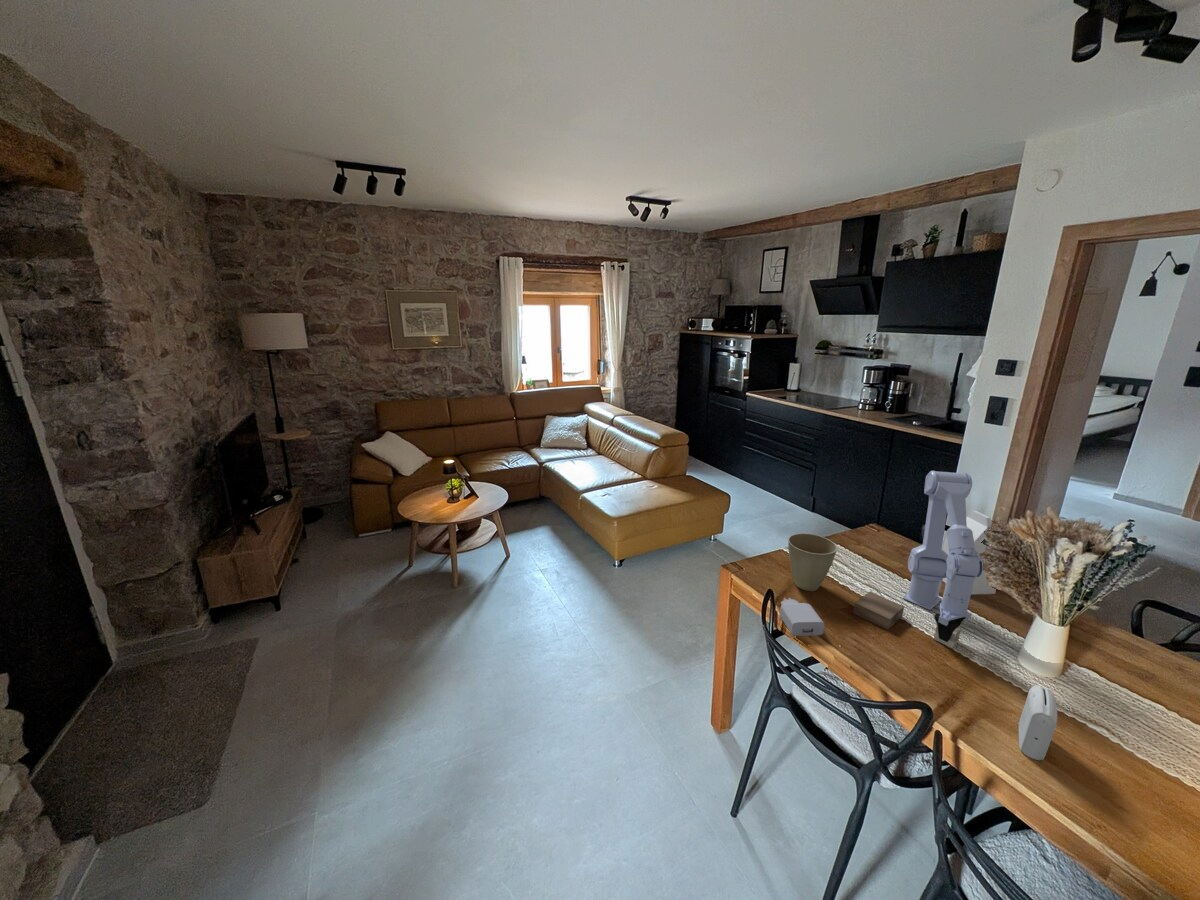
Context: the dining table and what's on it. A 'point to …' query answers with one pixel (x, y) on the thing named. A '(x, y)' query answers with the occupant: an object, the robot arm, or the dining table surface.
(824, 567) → the plant pot
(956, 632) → the maple cube
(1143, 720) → the dining table surface
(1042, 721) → the photo printer
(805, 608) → the charger
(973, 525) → the milk
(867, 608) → the walnut block
